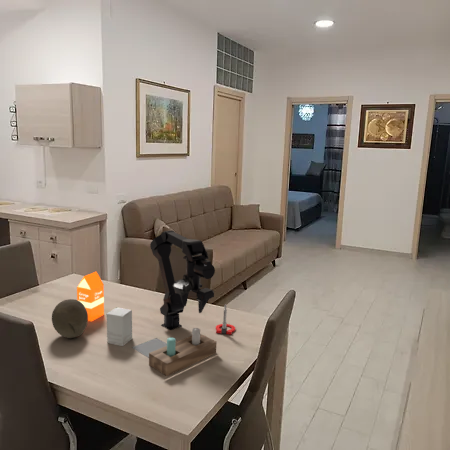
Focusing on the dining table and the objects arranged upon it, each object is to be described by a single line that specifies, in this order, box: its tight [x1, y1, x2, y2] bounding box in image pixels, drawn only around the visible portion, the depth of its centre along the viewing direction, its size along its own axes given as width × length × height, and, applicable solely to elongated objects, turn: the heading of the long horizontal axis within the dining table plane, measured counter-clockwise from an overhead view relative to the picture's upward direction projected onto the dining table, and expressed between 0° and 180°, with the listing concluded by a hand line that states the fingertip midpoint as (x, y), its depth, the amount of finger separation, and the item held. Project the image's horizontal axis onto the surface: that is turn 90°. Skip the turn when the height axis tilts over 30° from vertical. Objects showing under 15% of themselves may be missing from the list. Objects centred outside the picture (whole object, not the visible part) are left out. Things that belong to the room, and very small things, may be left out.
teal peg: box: [166, 337, 177, 357], centre depth 152 cm, size 3×3×10 cm
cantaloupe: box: [51, 299, 89, 339], centre depth 170 cm, size 14×14×15 cm
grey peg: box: [191, 327, 201, 346], centre depth 160 cm, size 3×3×10 cm
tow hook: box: [215, 304, 236, 335], centre depth 182 cm, size 8×13×9 cm
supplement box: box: [106, 306, 133, 347], centre depth 168 cm, size 7×7×13 cm
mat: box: [131, 337, 167, 359], centre depth 164 cm, size 12×12×1 cm
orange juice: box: [76, 271, 105, 322], centre depth 189 cm, size 8×9×20 cm
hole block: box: [148, 333, 217, 377], centre depth 156 cm, size 10×24×5 cm, turn 137°
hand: (192, 309), depth 170 cm, fingers open, 9 cm apart
